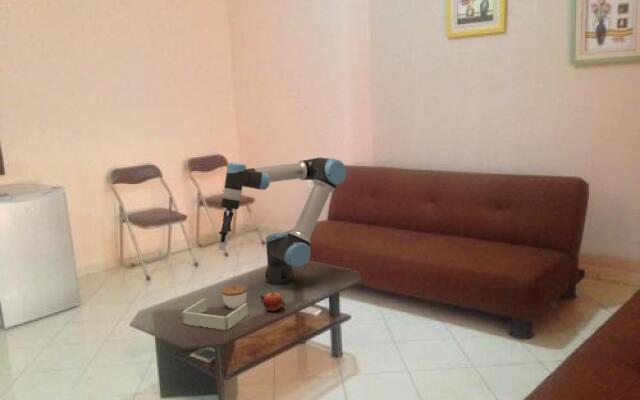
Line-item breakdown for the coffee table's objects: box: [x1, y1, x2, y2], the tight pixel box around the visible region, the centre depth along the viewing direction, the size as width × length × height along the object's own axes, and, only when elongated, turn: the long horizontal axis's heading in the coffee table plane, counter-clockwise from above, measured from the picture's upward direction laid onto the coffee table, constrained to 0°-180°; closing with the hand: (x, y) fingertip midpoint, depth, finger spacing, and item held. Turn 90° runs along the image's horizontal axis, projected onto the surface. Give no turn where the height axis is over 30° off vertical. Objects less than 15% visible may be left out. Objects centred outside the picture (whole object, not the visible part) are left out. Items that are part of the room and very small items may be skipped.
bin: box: [180, 298, 249, 331], centre depth 215 cm, size 16×21×5 cm
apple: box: [262, 291, 284, 312], centre depth 223 cm, size 8×8×8 cm
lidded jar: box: [221, 284, 248, 310], centre depth 229 cm, size 11×11×9 cm
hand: (222, 247), depth 228 cm, fingers open, 13 cm apart
